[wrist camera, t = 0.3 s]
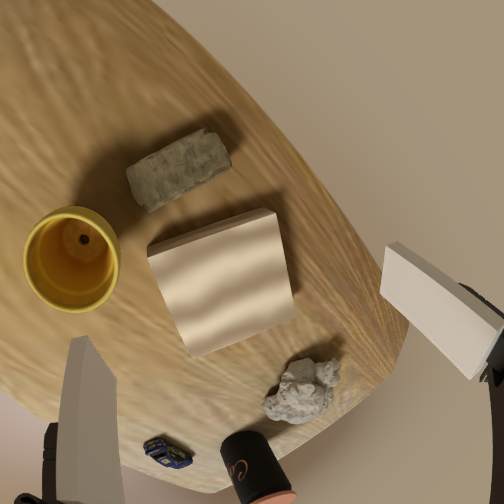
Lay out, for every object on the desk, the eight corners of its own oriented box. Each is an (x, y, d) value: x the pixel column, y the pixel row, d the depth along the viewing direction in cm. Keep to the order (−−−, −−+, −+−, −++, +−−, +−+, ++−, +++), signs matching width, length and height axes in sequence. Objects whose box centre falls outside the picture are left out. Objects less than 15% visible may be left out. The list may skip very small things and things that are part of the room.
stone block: (225, 164, 35) (237, 167, 31) (144, 211, 34) (144, 220, 29) (205, 124, 33) (214, 120, 28) (121, 171, 31) (117, 174, 27)
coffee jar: (226, 429, 52) (257, 499, 36) (270, 427, 56) (306, 489, 41) (212, 455, 54) (238, 518, 38) (253, 452, 59) (283, 509, 43)
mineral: (347, 373, 55) (367, 389, 45) (285, 427, 53) (294, 451, 43) (311, 333, 55) (327, 345, 45) (245, 391, 53) (248, 413, 43)
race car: (202, 454, 54) (207, 469, 50) (181, 464, 53) (185, 479, 49) (156, 431, 47) (159, 449, 43) (133, 442, 46) (135, 460, 42)
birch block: (146, 246, 35) (147, 257, 32) (263, 206, 39) (275, 213, 35) (187, 342, 42) (192, 359, 38) (284, 304, 45) (295, 317, 42)
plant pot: (113, 285, 35) (107, 326, 26) (43, 262, 30) (17, 297, 22) (135, 210, 33) (132, 231, 24) (60, 184, 29) (32, 197, 20)
